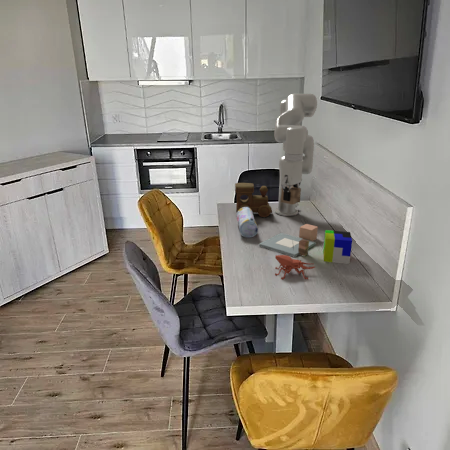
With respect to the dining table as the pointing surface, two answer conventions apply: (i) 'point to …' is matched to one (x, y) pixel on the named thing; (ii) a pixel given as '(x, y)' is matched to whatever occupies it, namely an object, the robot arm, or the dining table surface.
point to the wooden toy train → (253, 199)
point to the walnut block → (292, 195)
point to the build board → (284, 244)
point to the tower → (303, 247)
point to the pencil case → (246, 222)
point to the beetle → (290, 265)
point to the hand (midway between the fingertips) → (290, 198)
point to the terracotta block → (308, 232)
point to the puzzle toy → (337, 246)
